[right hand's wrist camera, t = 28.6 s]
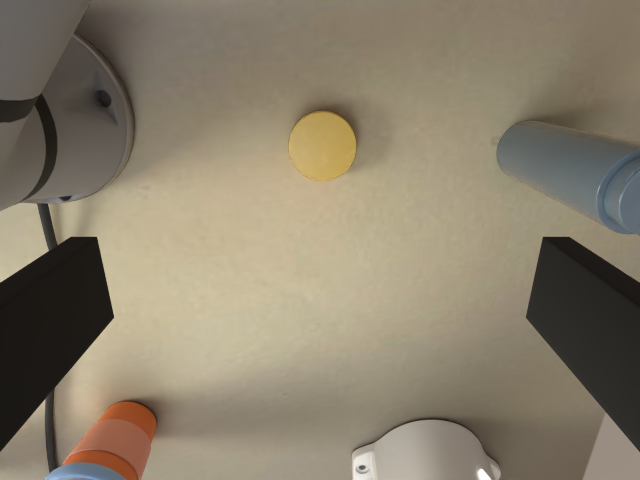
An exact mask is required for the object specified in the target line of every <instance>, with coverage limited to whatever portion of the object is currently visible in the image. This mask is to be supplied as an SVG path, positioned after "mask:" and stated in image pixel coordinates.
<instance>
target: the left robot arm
mask: <svg viewBox="0 0 640 480" xmlns="http://www.w3.org/2000/svg"><path fill="white" fill-rule="evenodd" d="M500 477H501V471H500V468H499V465H498V464H497V463H496V462H495V461H494V460H493V459H491V458H490V457H489V456H487V455H486V453H485V452H484V450H483V448H482V445H481V443H480V441H479V440H478V439H477V437H476V436H475V435H474V434H473V433H472V432H470V431H469V430H468V429H466V428H464V427H463V426H461V425H458V424H456V423H452V422H449V421H443V420H420V421H414V422H410V423H407V424H404V425H401V426H399V427H397V428H395V429H393V430H391V431H390V432H388V433H387V434H386V435H384V436H383V437H382V438H380V439H379V440H378V441H376V442H375V443H372V444H369V445H366V446H363V447H361V448H359V449H357V450H355V451H354V452H353V453H352V479H353V480H499V478H500Z"/></svg>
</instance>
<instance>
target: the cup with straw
mask: <svg viewBox="0 0 640 480" xmlns="http://www.w3.org/2000/svg"><path fill="white" fill-rule="evenodd" d="M156 426H157V423H156V419H155V417H154V415H153V414H152V412H151V411H150V410H149V409H147V408H146V407H144V406H143V405H141V404H138V403H134V402H119V403H116V404H114V405H112V406H111V407H110V408H108V410H107V411H106V412H105V413H104V414H103V416H102V417H101V418H100V419H99V421H98V422H97V423H96V424H94V425H93V426H92V427H91V428H90V429H89V431H88V432H87V433H86V434H85V436H84V437H83V438H82V439H81V441H80V442H79V443H78V444H77V446H76V447H75V448H74V449H73V451H72V452H71V453H70V454H69V456H68V457H67V458H66V460H65V461H64V463H63V465H62V466H60V467H58V468H56V469H55V470H53V471H52V472H51V473H50V474H48V476H47V477H46V478H45V479H44V480H141V478H142V475H143V472H144V469H145V466H146V463H147V460H148V457H149V454H150V450H151V443H152V440H153V437H154V434H155V431H156Z"/></svg>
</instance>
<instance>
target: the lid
mask: <svg viewBox="0 0 640 480" xmlns="http://www.w3.org/2000/svg"><path fill="white" fill-rule="evenodd" d="M288 150H289V155H290V159H291V161H292V163H293V165H294V166H295V168H296V169H297V170H298V171H299V172H300V173H301V174H303V175H304V176H306V177H307V178H310V179H313V180H317V181H328V180H332V179H335V178H337V177H339V176H341V175H342V174H343V173H345V172H346V171H347V170H348V169H349V167H350V166H351V164H352V163H353V160H354V158H355V155H356V138H355V135H354V132H353V130H352V128H351V127H350V125H349V124H348V122H347V121H346V120H345V119H344V118H342V117H341V116H340V115H338V114H336V113H334V112H330V111H314V112H311V113H309V114H307V115H305V116H304V117H302V118H301V119H300V120H299V121H298V122H297V123H296V125H295V126H294V128H293V130H292V132H291V134H290V138H289V143H288Z"/></svg>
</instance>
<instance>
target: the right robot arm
mask: <svg viewBox="0 0 640 480" xmlns="http://www.w3.org/2000/svg"><path fill="white" fill-rule="evenodd" d="M91 1H92V0H0V211H1V210H3V209H6V208H8V207H10V206H13V205H15V204H17V203H37V205H38V209H39V214H40V218H41V222H42V226H43V230H44V235H45V238H46V242H47V246H48V249H49V251H48V252H47V253H45V254H44V255H42V256H41V257H39V258H38V259H36V260H35V261H33V262H32V263H30V264H28V265H27V266H25V267H24V268H22V269H21V270H19V271H18V272H16V273H15V274H13V275H12V276H10V277H9V278H7V279H5V280H4V281H2V282H1V283H0V452H1V450H2V449H3V448H4V447H5V446H6V444H7V443H8V442H9V441H10V440H11V439H12V437H13V436H14V435H15V434H16V433H17V431H18V430H19V429H20V428H21V427H22V426H23V424H24V423H25V422H26V421H27V420H28V419H29V417H30V416H31V415H32V414H33V413H34V411H35V410H36V409H37V408H38V407H39V406H40V404H41V403H42V402H43V401H44V400H45V398H46V404H45V434H46V448H47V458H48V466H49V472H50V473H51V472H52V471H53V470H55V469H56V468H57V466H56V459H55V449H54V435H53V405H54V389H55V387H56V385H57V384H58V383H59V382H60V381H61V380H62V378H63V377H64V376H65V375H66V374H67V373H68V371H69V370H70V369H71V368H72V367H73V365H74V364H75V363H76V362H77V361H78V360H79V358H80V357H81V356H82V355H83V354H84V352H85V351H86V350H87V349H88V348H89V347H90V345H91V344H92V343H93V342H94V341H95V339H96V338H97V337H98V336H99V335H100V334H101V332H102V331H103V330H104V329H105V328H106V327H107V325H108V324H109V323H110V322H111V321H112V319H113V318H114V314H113V310H112V305H111V300H110V296H109V291H108V286H107V282H106V277H105V272H104V268H103V263H102V258H101V254H100V249H99V244H98V240H97V237H70V238H68V239H67V240H65V241H64V242H62V243H61V244H59V245H57V242H56V238H55V234H54V229H53V225H52V221H51V216H50V212H49V207H48V204H52V203H65V202H70V201H76V200H79V199H83V198H85V197H88V196H90V195H92V194H94V193H96V192H98V191H100V190H101V189H103V188H105V187H106V186H108V185H109V184H110V183H111V182H113V181H114V180H115V179H116V178H117V176H118V175H119V174H120V173H121V171H122V170H123V168H124V167H125V165H126V163H127V161H128V159H129V156H130V153H131V150H132V146H133V139H134V120H133V113H132V108H131V104H130V101H129V98H128V95H127V92H126V90H125V88H124V85H123V84H122V82H121V80H120V78H119V76H118V75H117V73H116V72H115V70H114V68H113V67H112V66H111V65H110V63H109V62H108V61H107V59H106V58H105V57H104V56H103V55H102V54H101V53H100V52H99V51H98V50H97V49H96V48H95V47H94V46H93V45H92V44H90V43H89V42H88V41H87V40H85V39H84V38H82V37H81V36H79V35H78V34H77V33H75V30H76V28H77V26H78V24H79V23H80V21H81V19H82V17H83V15H84V13H85V12H86V10H87V8H88V6H89V4H90V2H91ZM526 318H527V319H528V321H529V322H530V323H531V324H532V325H533V327H534V328H535V329H536V330H537V331H538V332H539V334H540V335H541V336H542V337H543V338H544V339H545V341H546V342H547V343H548V344H549V345H550V347H551V348H552V349H553V350H554V351H555V352H556V354H557V355H558V356H559V357H560V358H561V360H562V361H563V362H564V363H565V364H566V365H567V367H568V368H569V369H570V370H571V371H572V373H573V374H574V375H575V376H576V377H577V378H578V380H579V381H580V382H581V383H582V384H583V385H584V387H585V388H586V389H587V390H588V391H589V393H590V394H591V395H592V396H593V397H594V398H595V400H596V401H597V402H598V403H599V404H600V406H601V407H602V408H603V409H604V410H605V411H606V413H607V414H608V415H609V416H610V417H611V419H612V420H613V421H614V422H615V423H616V424H617V426H618V427H619V428H620V429H621V430H622V431H623V433H624V434H625V435H626V436H627V437H628V438H629V440H630V441H631V442H632V443H633V444H634V446H635V447H636V448H637V449H638V450H639V452H640V283H639V282H638V281H636V280H635V279H633V278H631V277H630V276H628V275H627V274H625V273H624V272H622V271H621V270H619V269H618V268H616V267H615V266H613V265H611V264H610V263H608V262H607V261H605V260H604V259H602V258H601V257H599V256H598V255H596V254H595V253H593V252H592V251H590V250H588V249H587V248H585V247H584V246H582V245H581V244H579V243H578V242H576V241H575V240H573V239H572V238H570V237H543V240H542V244H541V249H540V254H539V258H538V263H537V268H536V272H535V277H534V282H533V286H532V291H531V296H530V300H529V305H528V310H527V314H526Z"/></svg>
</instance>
